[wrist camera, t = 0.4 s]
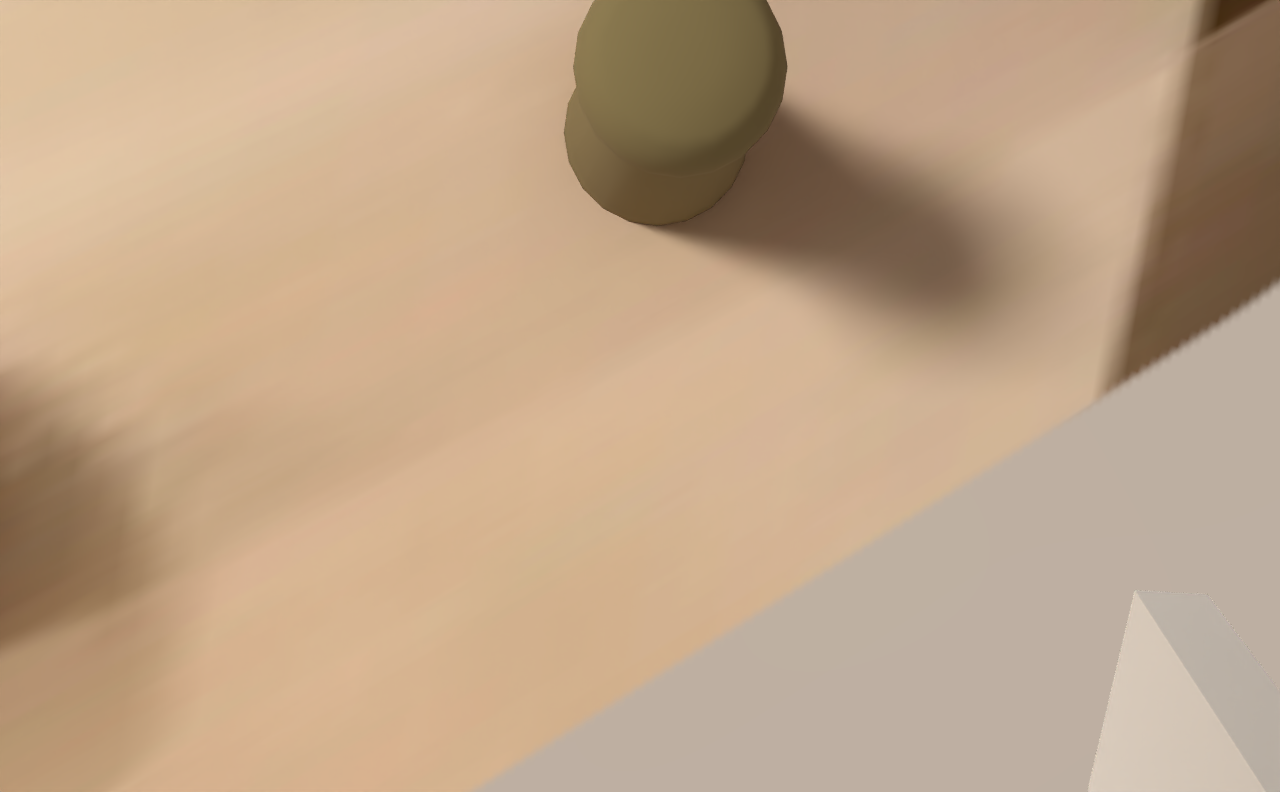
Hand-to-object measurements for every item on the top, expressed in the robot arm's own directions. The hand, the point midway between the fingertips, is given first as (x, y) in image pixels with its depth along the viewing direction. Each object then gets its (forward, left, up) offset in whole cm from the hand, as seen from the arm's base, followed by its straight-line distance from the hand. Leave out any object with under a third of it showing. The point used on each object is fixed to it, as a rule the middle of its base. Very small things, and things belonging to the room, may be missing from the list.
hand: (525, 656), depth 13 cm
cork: (-9, +5, -25) cm, 27 cm away
